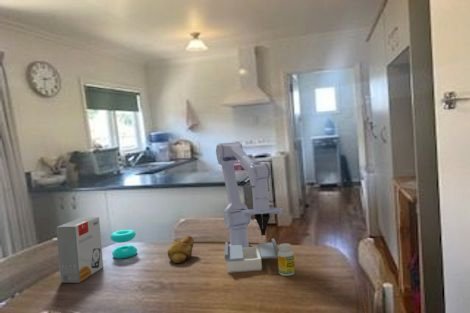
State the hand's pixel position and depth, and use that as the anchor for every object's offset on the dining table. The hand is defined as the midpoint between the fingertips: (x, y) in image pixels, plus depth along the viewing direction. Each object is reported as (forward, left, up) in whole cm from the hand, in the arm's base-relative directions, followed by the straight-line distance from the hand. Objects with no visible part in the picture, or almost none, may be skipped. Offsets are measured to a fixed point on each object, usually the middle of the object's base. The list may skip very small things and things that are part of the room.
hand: (263, 234), depth 134 cm
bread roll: (-11, -33, -11) cm, 36 cm away
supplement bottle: (+11, +6, -11) cm, 17 cm away
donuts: (-21, -57, -11) cm, 62 cm away
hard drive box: (-2, -67, -11) cm, 68 cm away
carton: (0, -8, -11) cm, 13 cm away
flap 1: (0, -11, -6) cm, 13 cm away
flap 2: (0, +1, -6) cm, 6 cm away
